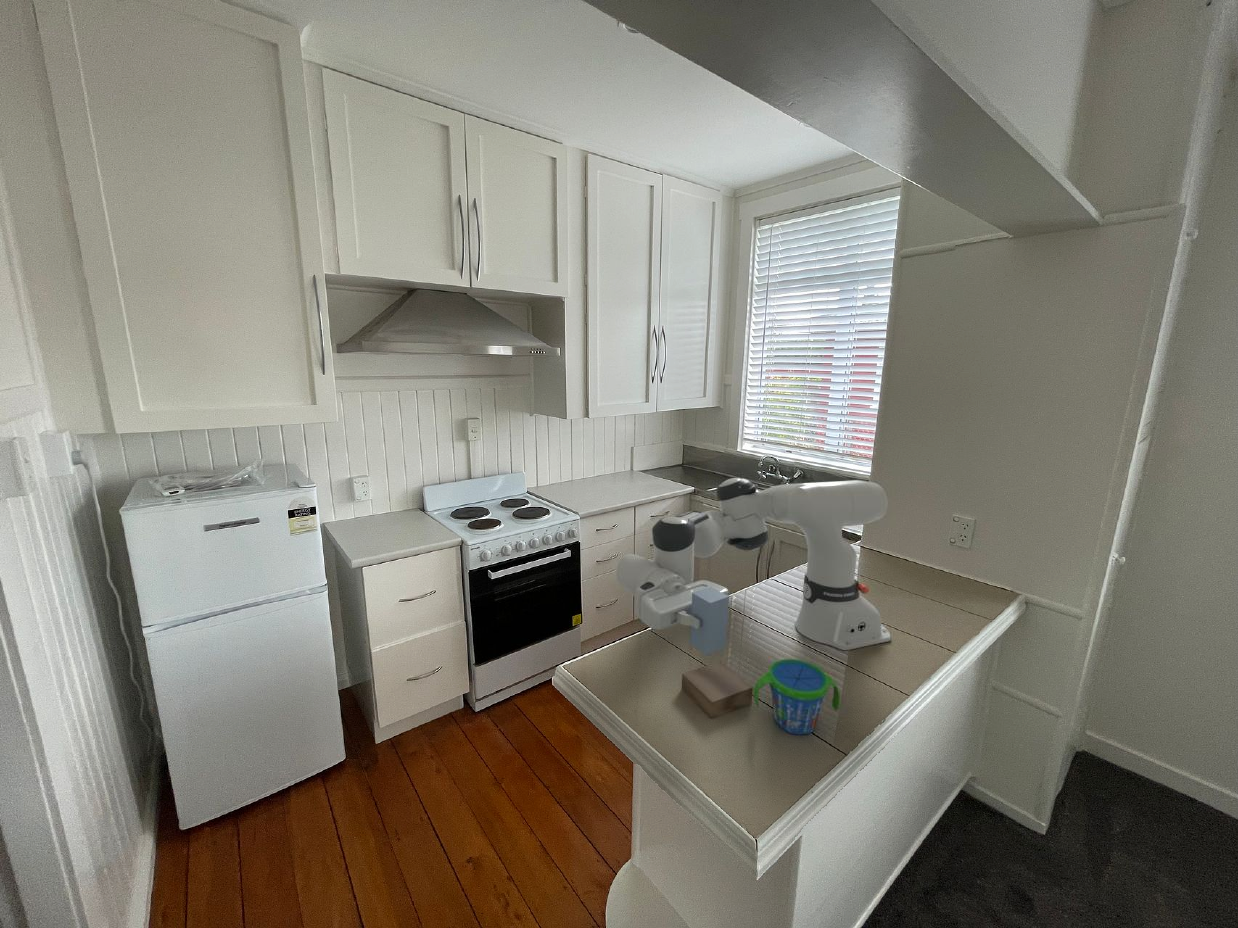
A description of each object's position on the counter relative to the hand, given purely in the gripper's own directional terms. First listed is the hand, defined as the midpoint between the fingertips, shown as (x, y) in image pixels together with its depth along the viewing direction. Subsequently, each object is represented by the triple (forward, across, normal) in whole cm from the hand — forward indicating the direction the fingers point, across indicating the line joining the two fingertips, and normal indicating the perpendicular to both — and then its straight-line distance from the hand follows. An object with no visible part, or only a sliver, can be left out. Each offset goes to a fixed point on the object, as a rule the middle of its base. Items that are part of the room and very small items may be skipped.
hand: (712, 619), depth 98 cm
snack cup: (+14, -9, -18) cm, 24 cm away
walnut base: (0, -2, -18) cm, 18 cm away
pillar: (-1, 0, -6) cm, 6 cm away
